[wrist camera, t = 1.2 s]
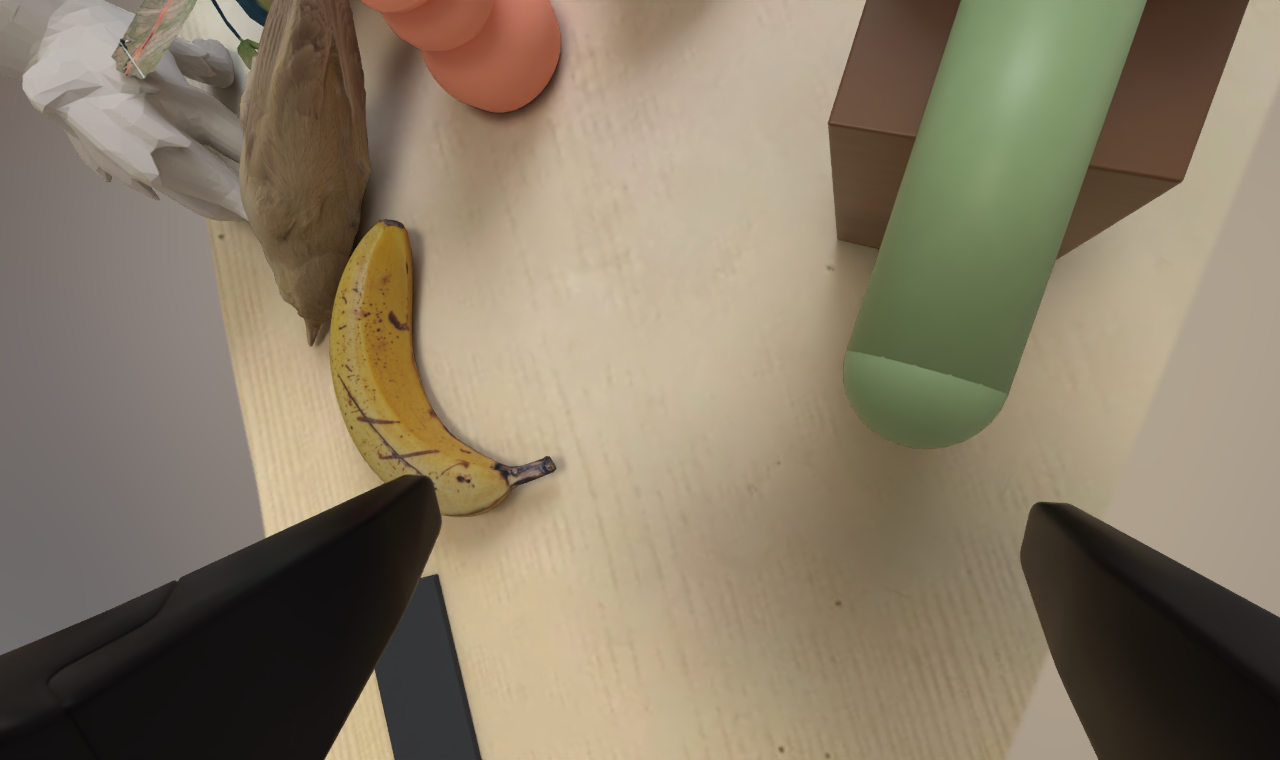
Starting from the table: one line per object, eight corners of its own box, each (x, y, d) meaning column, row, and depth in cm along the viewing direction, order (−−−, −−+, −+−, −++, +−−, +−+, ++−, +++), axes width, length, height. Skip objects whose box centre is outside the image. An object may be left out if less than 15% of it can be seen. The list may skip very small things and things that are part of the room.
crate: (1023, 280, 23) (1183, 182, 12) (836, 239, 25) (826, 124, 14) (1102, 54, 22) (1349, -272, 11) (903, 32, 24) (946, -258, 13)
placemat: (484, 773, 30) (480, 778, 30) (405, 782, 32) (400, 786, 31) (437, 574, 31) (432, 576, 31) (363, 591, 33) (357, 593, 32)
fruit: (567, 473, 29) (536, 482, 26) (425, 544, 31) (382, 559, 28) (447, 197, 31) (406, 178, 28) (323, 284, 34) (275, 275, 31)
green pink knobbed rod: (1086, 499, 12) (1176, 541, 9) (731, 387, 15) (696, 386, 11) (1367, -261, 11) (1597, -549, 8) (929, -248, 13) (956, -463, 10)
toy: (181, -19, 37) (-238, -238, 23) (346, 190, 33) (-41, 79, 19) (137, 67, 39) (-275, -87, 25) (287, 275, 35) (-102, 229, 21)
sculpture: (324, -186, 28) (397, -195, 26) (340, 325, 37) (394, 350, 35) (167, -271, 23) (240, -292, 20) (231, 346, 32) (287, 376, 30)
